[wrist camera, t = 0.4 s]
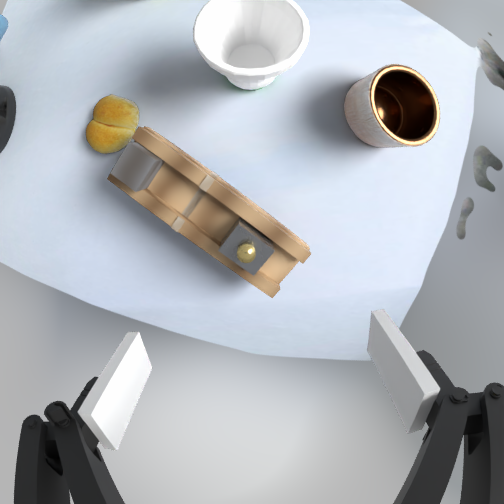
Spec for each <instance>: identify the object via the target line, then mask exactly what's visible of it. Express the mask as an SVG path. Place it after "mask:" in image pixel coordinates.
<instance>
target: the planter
mask: <svg viewBox="0 0 504 504" xmlns="http://www.w3.org/2000/svg"><path fill="white" fill-rule="evenodd" d="M344 111H345V116H346V120H347V122H348V124H349V126H350V128H351V130H352V131H353V132H354V134H355V135H356V136H357V137H358V138H359V139H361V140H362V141H364V142H365V143H367V144H369V145H372V146H375V147H381V148H387V147H416V146H421V145H423V144H425V143H427V142H428V141H430V140H431V139H432V138H433V136H434V135H435V133H436V131H437V129H438V126H439V121H440V108H439V103H438V99H437V97H436V94H435V92H434V90H433V88H432V87H431V85H430V84H429V82H428V81H427V80H426V79H425V78H424V77H423V76H422V75H421V74H420V73H418V72H417V71H416V70H414V69H412V68H410V67H408V66H405V65H400V64H390V65H386V66H384V67H382V68H380V69H378V70H377V71H375V72H373V73H372V74H370V75H368V76H366V77H364V78H363V79H361V80H359V81H358V82H356V83H355V84H354V85H353V86H352V87H351V88H350V89H349V91H348V93H347V95H346V98H345V102H344Z"/></svg>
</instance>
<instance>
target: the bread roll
mask: <svg viewBox="0 0 504 504" xmlns="http://www.w3.org/2000/svg"><path fill="white" fill-rule="evenodd" d="M138 122H139V109H138V107H137V106H136V104H135V103H134V102H133V101H131V100H128V99H125V98H123V97H118V96H116V95H113V94H111V95H109V96H106V97H104V98H102V99H101V100H100V101H99V102H98V103H97V104H96V106H95V107H94V111H93V120H92V121H91V122H90V123H89V124H88V125H87V128H86V138H87V141H88V143H89V144H90V146H91V147H92V148H93V149H94V150H96V151H97V152H100V153H103V154H107V153H113V152H117V151H119V150H121V149H123V148H124V147H125V146H126V145H127V144H128V143H129V142H130V141H131V140H132V136H133V135H134V133H135V130H136V128H137V126H138Z"/></svg>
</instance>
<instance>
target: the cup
mask: <svg viewBox="0 0 504 504" xmlns="http://www.w3.org/2000/svg"><path fill="white" fill-rule="evenodd" d="M309 32H310V31H309V24H308V19H307V18H306V16H305V14H304V13H303V11H302V9H301V8H300V7H299V6H298V5H297V4H296V3H295V2H294V1H293V0H210V1H209V2H208V3H207V4H206V5H205V6H204V7H203V8H202V9H201V11H200V12H199V14H198V15H197V17H196V20H195V24H194V27H193V41H194V43H195V45H196V47H197V49H198V51H199V53H200V54H201V56H202V57H203V59H204V60H205V61H206V62H207V63H208V64H209V66H210V67H212V68H213V69H215V70H216V71H218V72H219V73H221V74H222V75H225V76H226V77H227V79H228V80H229V81H230V82H231V83H232V84H233V85H235V86H237V87H240V88H242V89H249V90H258V89H261V88H263V87H265V86H267V85H268V84H270V83H271V82H272V81H273V80H274V79H275V77H276V76H278V75H280V74H282V73H284V72H285V71H287V70H289V69H291V67H292V66H293V65H294V64H295V63H296V62H297V61H298V60H299V58H300V56H301V55H302V53H303V51H304V49H305V47H306V46H307V44H308V39H309Z"/></svg>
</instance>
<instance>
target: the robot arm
mask: <svg viewBox="0 0 504 504" xmlns="http://www.w3.org/2000/svg"><path fill="white" fill-rule="evenodd" d="M7 28H8V20H7V19H6V18H5V17H4V16H3V15H1V14H0V41H1V39H2V37H3V35H4V34H5V32H6V30H7ZM15 114H16V101H15V96H14V93H13V91H12V90H11V89H10V88H9V87H7V86H1V85H0V152H1V151H2V150H3V149H4V147H5V146H6V144H7V142H8V140H9V138H10V135H11V133H12V129H13V126H14V121H15ZM367 351H368V353H369V355H370V357H371V359H372V361H373V363H374V365H375V367H376V368H377V370H378V373H379V375H380V376H381V378H382V381H383V382H384V385H385V387H386V389H387V391H388V393H389V395H390V397H391V399H392V401H393V403H394V405H395V408H396V410H397V412H398V414H399V416H400V418H401V421H402V423H403V425H404V427H405V429H406V432H407V434H409V433H412V432H415V431H418V430H421V429H422V428H423V426H424V424H425V422H427V424H428V426H429V428H428V430H427V432H426V434H425V436H424V438H423V443H422V445H421V448H420V450H419V453H418V455H417V457H416V459H415V462H414V464H413V466H412V468H411V471H410V473H409V475H408V477H407V479H406V481H405V483H404V485H403V487H402V489H401V490H400V492H399V494H398V496H397V498H396V500H395V502H394V503H393V504H440V502H441V499H442V497H443V495H444V492H445V490H446V487H447V485H448V482H449V479H450V476H451V474H452V471H453V468H454V465H455V462H456V458H457V455H458V451H459V448H460V445H461V441H462V437H463V435H464V466H463V480H462V491H461V500H460V504H504V386H503V385H501V384H499V383H490V384H489V385H487V386H486V388H485V390H484V392H480V393H471V394H469V393H468V392H467V391H466V390H465V389H463V388H459V387H454V385H453V384H452V382H451V381H450V379H449V378H448V377H447V375H446V374H445V372H444V371H443V370H442V369H441V368H440V366H439V364H438V363H437V362H436V360H435V359H434V358H433V356H432V355H431V354H429V353H427V352H426V351H424V350H423V351H419V352H415V351H414V349H413V348H412V347H411V345H410V344H409V342H408V341H407V340H406V338H405V337H404V336H403V334H402V333H401V331H400V330H399V329H398V327H397V326H396V325H395V323H394V322H393V321H392V319H391V318H390V317H389V315H388V314H387V313H386V311H385V310H384V309H381V310H376V311H371V322H370V331H369V340H368V347H367ZM151 370H152V366H151V363H150V361H149V358H148V355H147V353H146V350H145V347H144V345H143V342H142V339H141V336H140V333H139V332H128V333H127V334H126V336H125V337H124V339H123V340H122V342H121V343H120V345H119V346H118V348H117V349H116V351H115V352H114V354H113V356H112V357H111V359H110V360H109V362H108V363H107V365H106V366H105V368H104V369H103V371H102V373H101V374H100V376H99V377H94V378H93V379H91V380H90V381H89V382H88V383H87V384H86V386H85V388H84V390H83V391H82V392H81V394H80V396H79V397H78V399H77V400H76V402H75V403H74V405H73V407H72V408H71V410H69V409H68V407H67V406H66V404H65V403H64V402H62V401H56V402H53V403H51V404H49V405H48V406H47V407H46V409H45V411H44V415H45V416H46V418H47V419H48V420H49V422H43V420H42V419H41V418H40V416H38V415H31V416H29V417H27V418H26V419H25V420H24V421H23V424H22V429H21V434H20V441H19V447H18V455H17V463H16V474H15V488H14V504H70V494H69V490H70V493H71V496H72V499H73V502H74V504H125V503H124V501H123V499H122V498H121V496H120V494H119V492H118V490H117V488H116V486H115V484H114V482H113V480H112V478H111V475H110V473H109V471H108V469H107V467H106V464H105V462H104V460H103V458H102V455H101V453H100V450H99V449H98V447H97V444H98V442H100V443H101V444H102V446H103V447H104V448H107V449H111V450H116V451H117V450H118V448H119V445H120V443H121V440H122V438H123V435H124V433H125V430H126V428H127V426H128V423H129V420H130V418H131V416H132V414H133V411H134V409H135V407H136V404H137V402H138V400H139V397H140V395H141V392H142V390H143V388H144V386H145V383H146V381H147V379H148V377H149V375H150V372H151Z"/></svg>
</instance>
